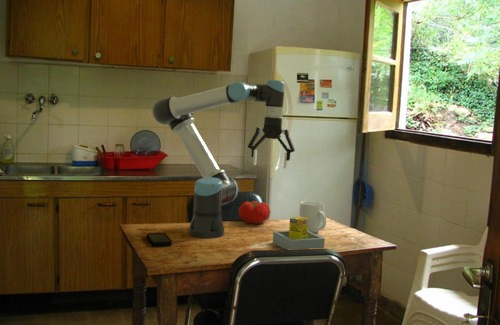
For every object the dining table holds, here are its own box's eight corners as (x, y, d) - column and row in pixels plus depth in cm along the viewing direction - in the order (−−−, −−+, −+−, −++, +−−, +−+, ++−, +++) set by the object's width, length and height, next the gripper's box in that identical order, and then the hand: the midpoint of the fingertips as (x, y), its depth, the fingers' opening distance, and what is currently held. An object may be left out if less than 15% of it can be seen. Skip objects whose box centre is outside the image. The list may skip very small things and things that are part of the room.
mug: (333, 235, 245) (335, 206, 243) (314, 237, 239) (316, 207, 237) (312, 227, 257) (313, 200, 256) (293, 229, 251) (295, 201, 249)
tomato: (273, 221, 267) (275, 201, 266) (260, 227, 252) (261, 206, 251) (247, 217, 273) (248, 197, 271) (232, 223, 258) (233, 202, 257)
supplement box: (301, 247, 219) (303, 220, 218) (287, 244, 222) (289, 218, 221) (307, 244, 224) (309, 218, 223) (294, 241, 227) (295, 215, 226)
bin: (290, 252, 213) (291, 240, 212) (272, 242, 227) (273, 231, 226) (323, 249, 219) (324, 238, 219) (304, 240, 233) (305, 229, 232)
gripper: (242, 114, 234) (239, 164, 236) (300, 119, 227) (296, 170, 229) (247, 114, 241) (244, 162, 243) (304, 118, 234) (300, 168, 236)
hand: (269, 166), depth 236 cm, fingers open, 13 cm apart
